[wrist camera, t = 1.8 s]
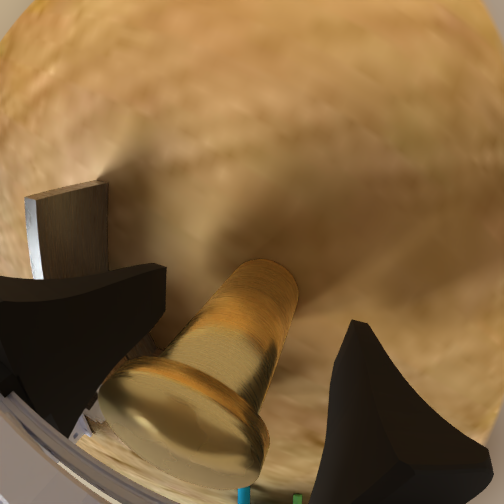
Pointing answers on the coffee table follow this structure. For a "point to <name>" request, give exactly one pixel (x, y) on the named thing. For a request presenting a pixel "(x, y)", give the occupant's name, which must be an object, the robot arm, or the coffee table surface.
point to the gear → (245, 496)
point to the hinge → (74, 248)
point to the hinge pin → (208, 383)
